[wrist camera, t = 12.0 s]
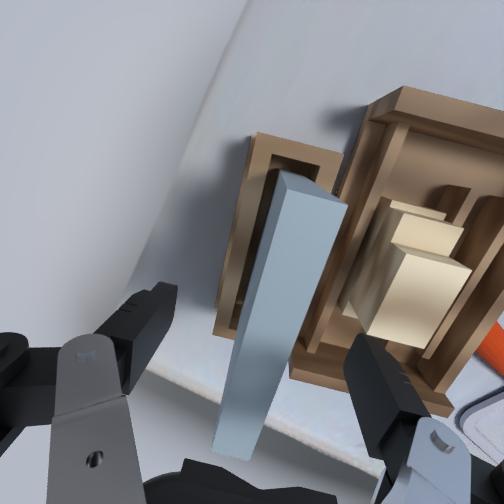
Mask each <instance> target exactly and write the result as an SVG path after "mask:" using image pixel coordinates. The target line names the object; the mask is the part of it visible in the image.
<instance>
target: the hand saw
mask: <svg viewBox="0 0 504 504" xmlns="http://www.w3.org/2000/svg"><path fill="white" fill-rule="evenodd" d="M475 351H476V352H477V353H478V354H479V355H480V356H481V357H482V358H483V359H484V360H485V361H486V362H488V363H489V364H490V365H491V366H492V367H493V368H494V369H495V370H496V371H498V372H499V373H500V374H501V375H502V376H503V377H504V329H503V328H502V327H501V326H500V325H499V324H498V322H497V321H496V322H495V324H494V325H493V326H492V328H491V329H490V331H489V332H488V334H487V335H486V336H485V338H484V339H483V341H482V342H481V343H480V345H479V346H478V348H477V349H476V350H475ZM503 407H504V392H502V393H500V394H498V395H496V396H494V397H491V398H489V399H487V400H485V401H483V402H481V403H479V404H477V405H475V406H473V407H471V408H469V409H468V410H467V411H465V412H464V414H463V415H462V416H461V418H460V427H461V429H462V430H463V432H464V433H465V435H467V436H468V437H469V438H470V439H471V440H472V441H473V442H474V443H475V444H477V445H478V446H479V447H480V448H481V449H482V450H483V451H484V452H485V453H487V454H488V455H489V456H490V457H491V458H492V459H493V460H494V461H496V462H497V463H498V464H499V463H500V462H501V461H502V460H503V459H504V454H503V453H502V452H501V451H500V450H499V449H497V448H496V447H495V446H494V445H493V444H492V443H491V442H490V441H489V440H488V439H487V438H486V437H485V436H483V435H482V434H481V433H480V432H479V431H478V430H477V429H476V428H475V424H476V422H477V421H478V420H479V419H480V418H482V417H483V416H486V415H488V414H490V413H492V412H494V411H497V410H499V409H501V408H503Z"/></svg>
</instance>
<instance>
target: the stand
mask: <svg viewBox="0 0 504 504" xmlns="http://www.w3.org/2000/svg"><path fill="white" fill-rule="evenodd" d="M343 157H344V154H342V153H338V152H334V151H330V150H326V149H322V148H318V147H314V146H310V145H307V144H303V143H299V142H295V141H291V140H287V139H283V138H279V137H275V136H271V135H267V134H263V133H260V132H257V136H256V135H252V136H251V141H250V145H249V150H248V155H247V159H246V164H245V169H244V173H243V178H242V182H241V187H240V192H239V196H238V201H237V206H236V210H235V215H234V219H233V224H232V229H231V233H230V238H229V243H228V247H227V252H226V257H225V261H224V266H223V270H222V275H221V280H220V284H219V289H218V294H217V298H216V303H215V307H218V311H217V316H216V320H215V325H214V329H213V334H212V335H216V336H220V337H224V338H228V339H232V340H235V337H236V332H237V327H238V323H239V318H240V314H241V309H242V304H243V300H244V295H245V292H246V288H247V284H248V281H249V277H250V273H251V270H252V266H253V262H254V259H255V255H256V251H257V248H258V244H259V240H260V237H261V233H262V229H263V226H264V222H265V218H266V215H267V211H268V207H269V204H270V200H271V196H272V193H273V189H274V186H275V182H276V178H277V175H278V171H279V168H281V169H284V170H288V171H292V172H296V173H299V174H302V175H303V176H305V177H306V178H308V179H309V180H311V181H312V182H314V183H315V184H317V185H318V186H320V187H322V188H323V189H325V190H326V191H328V192H329V193H331V192H332V189H333V186H334V183H335V180H336V177H337V174H338V171H339V168H340V165H341V163H342V160H343Z"/></svg>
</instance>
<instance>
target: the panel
mask: <svg viewBox="0 0 504 504" xmlns="http://www.w3.org/2000/svg"><path fill="white" fill-rule="evenodd" d="M347 207H348V205H347V204H346V203H344V202H343V201H341V200H340V199H338V198H337V197H335V196H334V195H332V194H331V193H329V192H328V191H326V190H325V189H323V188H322V187H320V186H318V185H317V184H315V183H314V182H312V181H311V180H309V179H308V178H306V177H305V176H303V175H302V174H299V173H296V172H292V171H288V170H284V169H281V168H279V171H278V175H277V178H276V182H275V186H274V189H273V193H272V196H271V200H270V204H269V207H268V211H267V215H266V218H265V222H264V226H263V229H262V233H261V237H260V240H259V244H258V248H257V251H256V255H255V259H254V262H253V266H252V270H251V273H250V277H249V281H248V284H247V288H246V292H245V295H244V300H243V304H242V309H241V314H240V318H239V323H238V327H237V332H236V337H235V341H234V346H233V350H232V355H231V359H230V364H229V369H228V373H227V378H226V382H225V387H224V392H223V396H222V401H221V405H220V410H219V415H218V419H217V424H216V428H215V433H214V437H213V442H212V447H211V452H214V453H218V454H222V455H226V456H230V457H234V458H238V459H242V460H246V461H249V460H250V457H251V454H252V452H253V449H254V447H255V444H256V442H257V439H258V437H259V434H260V431H261V429H262V426H263V424H264V421H265V419H266V416H267V413H268V411H269V408H270V406H271V403H272V401H273V398H274V395H275V393H276V390H277V388H278V385H279V383H280V380H281V377H282V375H283V372H284V370H285V367H286V364H287V362H288V359H289V357H290V354H291V352H292V349H293V346H294V344H295V341H296V339H297V336H298V334H299V331H300V328H301V326H302V323H303V321H304V318H305V316H306V313H307V310H308V308H309V305H310V303H311V300H312V297H313V295H314V292H315V290H316V287H317V285H318V282H319V279H320V277H321V274H322V272H323V269H324V267H325V264H326V261H327V259H328V256H329V254H330V251H331V249H332V246H333V243H334V241H335V238H336V236H337V233H338V231H339V228H340V225H341V223H342V220H343V218H344V215H345V212H346V210H347Z"/></svg>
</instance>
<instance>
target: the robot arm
mask: <svg viewBox="0 0 504 504" xmlns="http://www.w3.org/2000/svg"><path fill="white" fill-rule="evenodd" d="M177 291H178V287H177V285H173V284H169V283H165V282H161V281H160V282H158V284H157V285H156V286H155V287H154V288H153V289H152V290H151V291H148V290H142V291H140V292H137V293H135V294H133V295H132V296H131V297H130V298H129V299H128V300H127V301H126V302H125V304H123V305H122V306H121V307H120V308H119V309H118V310H117V311H116V312H115V313H113V314H112V315H111V316H110V317H109V318H108V319H107V320H106V321H105V322H104V323H103V324H102V325H101V326H100V327H99V328H98V329H97V330H96V331H95V332H94V333H93V334H86V335H81V336H78V337H76V338H74V339H72V340H70V341H68V342H67V343H65V344H64V345H63V346H62V347H49V348H48V347H46V348H45V347H43V348H29V344H28V339H27V338H26V337H25V336H24V335H22V334H18V333H13V332H4V333H0V457H1V456H2V454H3V453H4V452H5V451H6V450H7V448H8V447H9V446H10V445H11V444H12V443H13V441H14V440H15V439H16V438H17V437H18V436H19V434H20V433H21V432H22V431H23V429H24V428H25V427H26V426H37V425H49V424H51V439H50V440H51V441H50V454H49V469H48V485H47V501H46V504H337V498H336V496H335V495H331V494H327V493H322V492H319V491H314V490H311V489H307V488H303V487H289V488H277V489H266V490H261V489H258V488H256V487H254V486H252V485H251V484H249V483H247V482H246V481H244V480H242V479H241V478H239V477H237V476H235V475H234V474H232V473H231V472H229V471H227V470H226V469H224V468H222V467H218V466H215V465H211V464H206V463H202V462H198V461H194V460H191V459H186V458H185V459H184V462H183V466H182V469H181V471H180V472H171V473H166V474H162V475H159V476H157V477H154V478H152V479H150V480H148V481H146V482H144V483H142V478H141V472H140V467H139V461H138V456H137V450H136V445H135V440H134V434H133V429H132V423H131V418H130V412H129V407H128V403H127V398H126V396H125V395H122V394H126V395H129V394H130V393H131V391H132V389H133V388H134V386H135V384H136V382H137V381H138V379H139V378H140V376H141V374H142V373H143V371H144V370H145V368H146V366H147V365H148V363H149V361H150V360H151V358H152V356H153V355H154V353H155V351H156V350H157V348H158V347H159V345H160V343H161V342H162V340H163V338H164V337H165V335H166V333H167V332H168V330H169V328H170V326H171V324H172V321H173V317H174V311H175V304H176V298H177ZM343 373H344V377H345V380H346V383H347V387H348V390H349V393H350V396H351V400H352V403H353V406H354V409H355V412H356V416H357V419H358V422H359V425H360V429H361V432H362V435H363V438H364V442H365V445H366V448H367V451H368V454H369V457H372V458H376V459H380V460H384V463H385V466H386V467H385V468H384V470H383V471H382V473H381V476H380V478H379V481H378V484H377V487H376V490H375V493H374V495H373V498H372V501H371V504H504V459H503V460H502V461H501V462H500V463H499V465H498V466H497V467H495V466H493V465H491V464H489V463H487V462H485V461H483V460H481V459H480V458H478V457H476V456H474V455H472V454H470V453H469V450H468V448H467V447H466V445H465V444H464V442H463V441H462V440H461V439H460V438H459V436H458V435H457V434H456V433H455V432H453V431H452V430H451V429H450V428H449V427H447V426H446V425H445V424H443V423H441V422H440V421H438V420H435V419H433V418H432V417H431V415H430V413H429V412H428V410H427V408H426V407H425V405H424V403H423V402H422V400H421V398H420V397H419V395H418V393H417V392H416V390H415V388H414V386H413V385H411V381H410V380H409V378H408V376H406V373H405V371H404V370H403V368H402V366H401V365H400V363H399V362H398V361H397V360H396V359H395V358H394V357H393V356H392V355H391V354H390V353H389V352H387V351H386V349H385V347H384V346H383V344H382V342H381V340H380V339H379V338H378V337H375V336H371V335H367V334H363V333H359V334H357V336H356V337H355V339H354V341H353V344H352V346H351V348H350V350H349V352H348V354H347V356H346V358H345V360H344V364H343Z"/></svg>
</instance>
